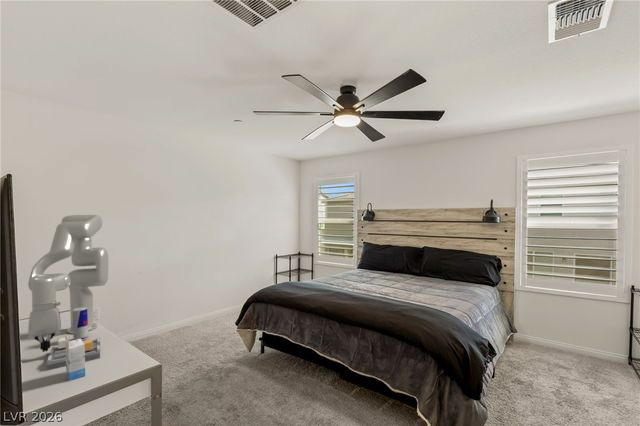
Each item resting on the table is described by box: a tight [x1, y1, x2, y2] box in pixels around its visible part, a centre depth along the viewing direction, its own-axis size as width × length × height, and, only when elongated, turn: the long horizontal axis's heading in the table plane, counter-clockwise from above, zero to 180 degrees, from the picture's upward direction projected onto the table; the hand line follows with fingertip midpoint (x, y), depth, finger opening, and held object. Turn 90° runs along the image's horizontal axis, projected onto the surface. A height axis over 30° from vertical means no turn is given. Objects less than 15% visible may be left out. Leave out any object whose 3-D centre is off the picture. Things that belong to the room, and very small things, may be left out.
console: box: [45, 337, 101, 371], centre depth 135 cm, size 20×17×3 cm
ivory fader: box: [57, 336, 69, 349], centre depth 137 cm, size 4×3×4 cm, turn 35°
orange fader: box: [83, 338, 93, 352], centre depth 134 cm, size 4×3×4 cm, turn 35°
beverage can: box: [72, 307, 89, 342], centre depth 152 cm, size 6×6×15 cm
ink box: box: [64, 334, 86, 381], centre depth 119 cm, size 9×5×15 cm, turn 45°
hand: (45, 350), depth 134 cm, fingers closed
